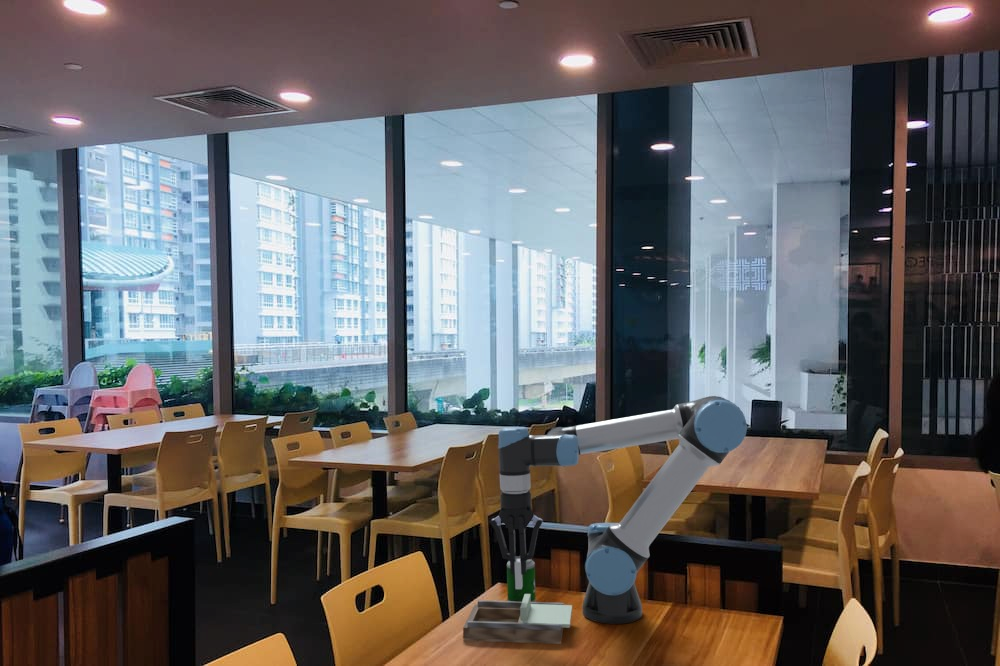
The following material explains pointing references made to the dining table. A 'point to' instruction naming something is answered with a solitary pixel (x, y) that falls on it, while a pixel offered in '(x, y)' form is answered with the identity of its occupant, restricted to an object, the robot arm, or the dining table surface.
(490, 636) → the wooden tray box
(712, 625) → the dining table surface
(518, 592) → the soda can
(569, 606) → the lid
